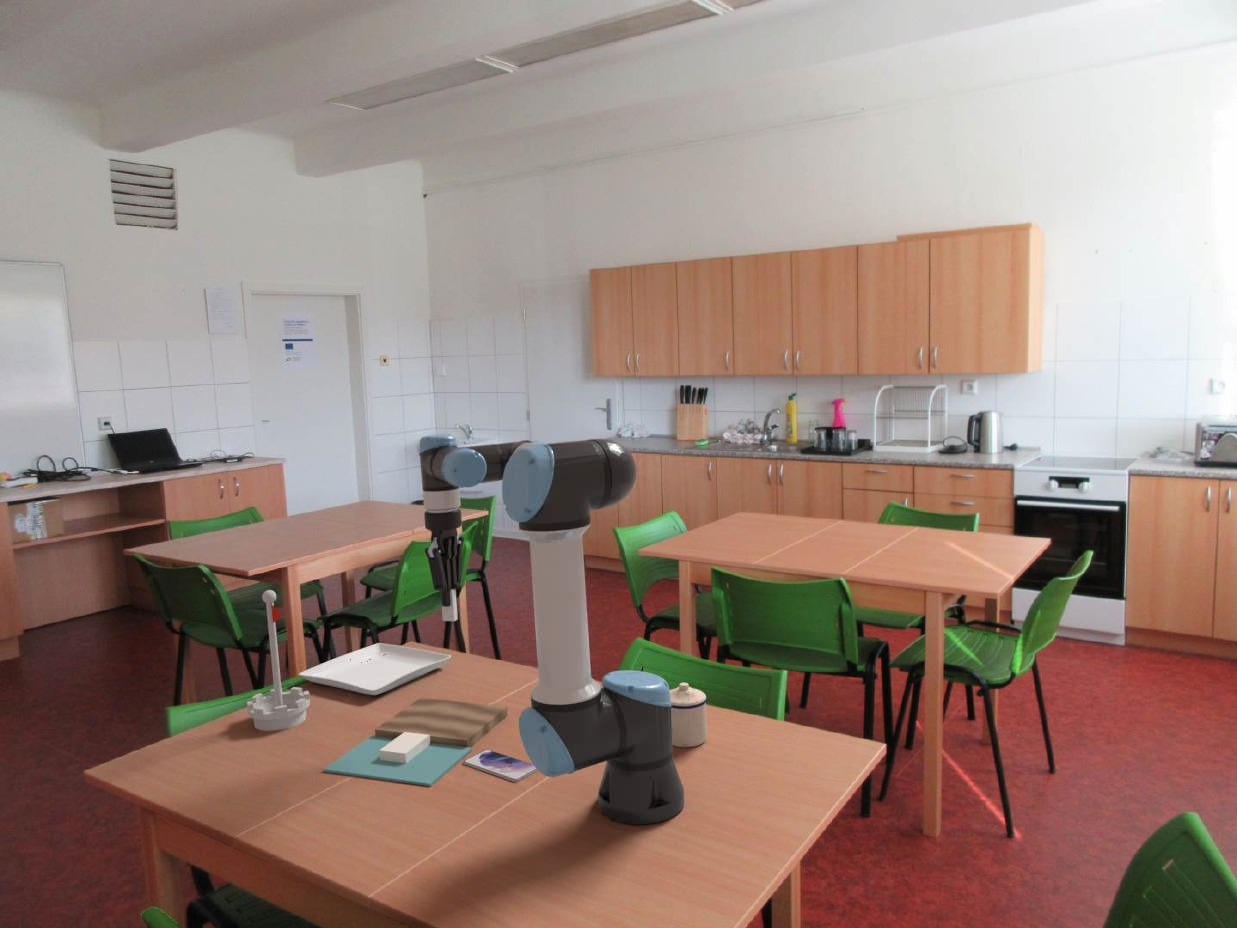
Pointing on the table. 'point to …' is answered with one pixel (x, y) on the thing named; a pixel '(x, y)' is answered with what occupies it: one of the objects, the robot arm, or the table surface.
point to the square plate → (375, 668)
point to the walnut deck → (444, 721)
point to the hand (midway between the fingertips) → (450, 619)
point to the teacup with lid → (688, 716)
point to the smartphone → (501, 765)
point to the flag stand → (277, 687)
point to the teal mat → (416, 771)
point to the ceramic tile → (405, 747)
